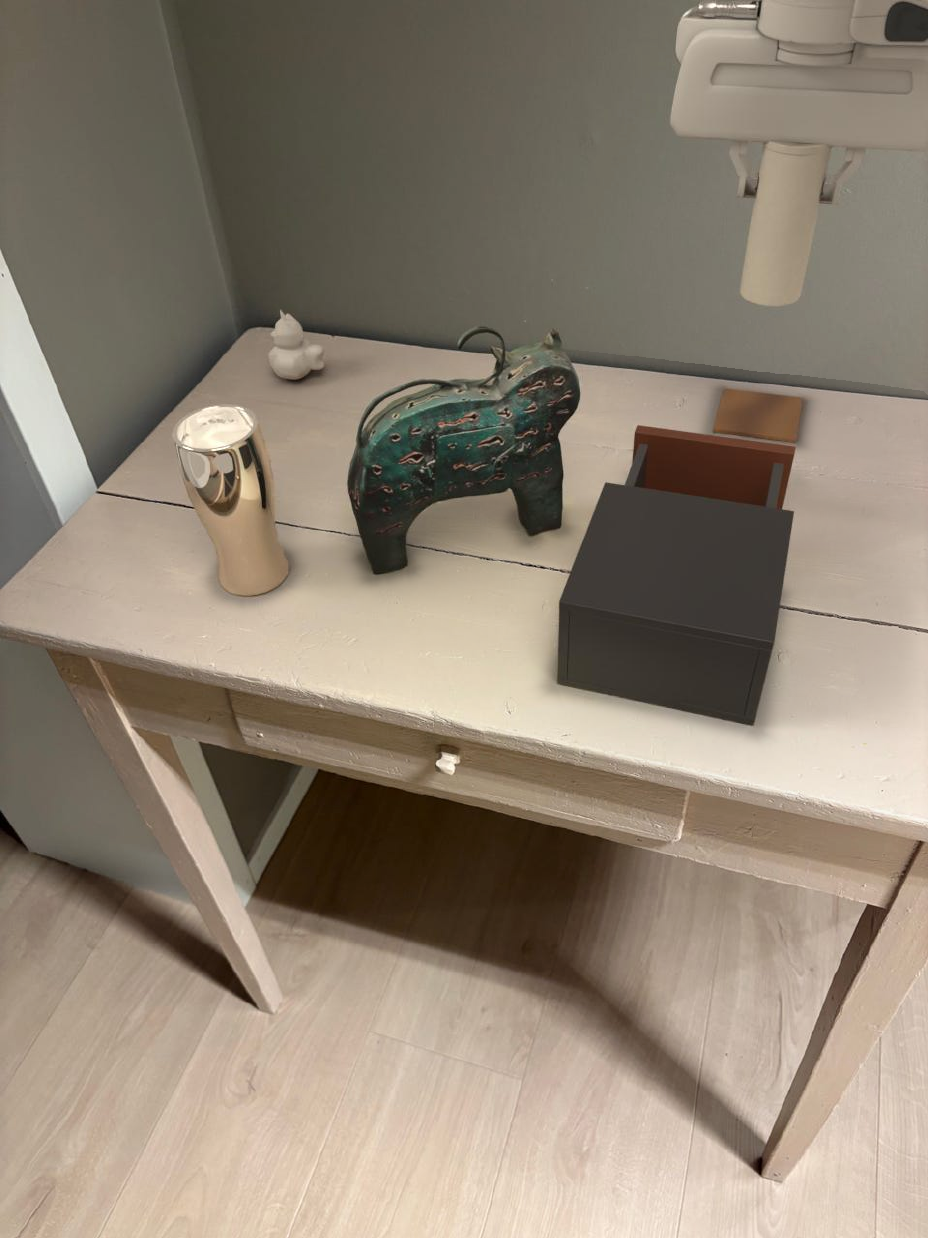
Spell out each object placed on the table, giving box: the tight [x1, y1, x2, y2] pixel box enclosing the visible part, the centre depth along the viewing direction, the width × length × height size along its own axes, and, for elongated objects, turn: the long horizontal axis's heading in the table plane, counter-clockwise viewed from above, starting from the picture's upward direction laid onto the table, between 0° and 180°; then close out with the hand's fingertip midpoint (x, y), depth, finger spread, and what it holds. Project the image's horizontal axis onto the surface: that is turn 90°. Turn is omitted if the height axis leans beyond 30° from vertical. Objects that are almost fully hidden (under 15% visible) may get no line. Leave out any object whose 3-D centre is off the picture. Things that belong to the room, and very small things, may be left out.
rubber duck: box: [267, 308, 325, 381], centre depth 106 cm, size 5×7×8 cm
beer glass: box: [171, 403, 290, 597], centre depth 79 cm, size 7×7×15 cm
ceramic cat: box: [346, 325, 581, 575], centre depth 79 cm, size 20×6×20 cm, turn 108°
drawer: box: [624, 424, 796, 509], centre depth 82 cm, size 18×13×7 cm
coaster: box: [712, 387, 804, 444], centre depth 98 cm, size 8×8×1 cm
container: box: [739, 141, 834, 307], centre depth 80 cm, size 5×5×13 cm
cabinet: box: [556, 482, 795, 726], centre depth 73 cm, size 15×15×9 cm
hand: (788, 198), depth 79 cm, fingers closed on container, 5 cm apart
